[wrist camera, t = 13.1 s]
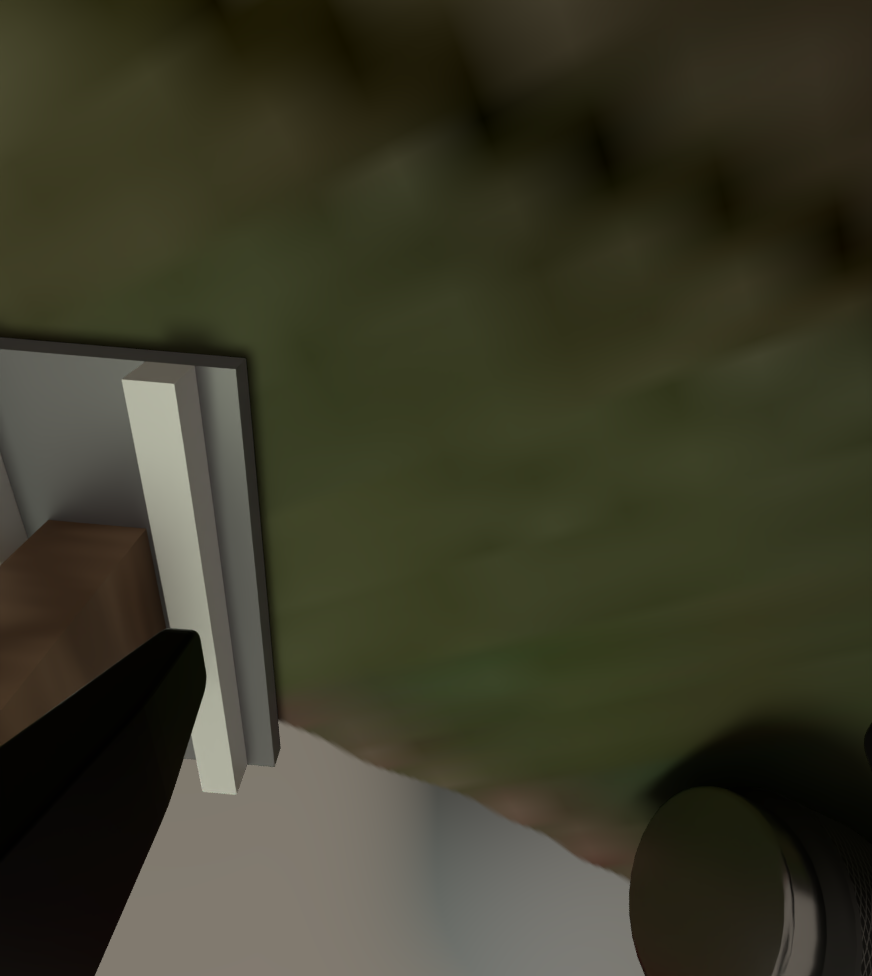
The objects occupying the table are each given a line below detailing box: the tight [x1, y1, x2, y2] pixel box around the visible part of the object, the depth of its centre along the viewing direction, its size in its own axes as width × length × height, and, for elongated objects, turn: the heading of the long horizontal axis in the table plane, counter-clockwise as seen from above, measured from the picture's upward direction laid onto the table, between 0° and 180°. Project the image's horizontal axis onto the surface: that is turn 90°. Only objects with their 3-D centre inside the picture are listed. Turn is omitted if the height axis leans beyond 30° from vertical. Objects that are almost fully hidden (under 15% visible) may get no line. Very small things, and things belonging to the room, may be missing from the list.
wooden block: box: [0, 520, 166, 746], centre depth 20 cm, size 4×6×10 cm, turn 176°
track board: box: [0, 337, 280, 795], centre depth 24 cm, size 11×19×2 cm, turn 176°
